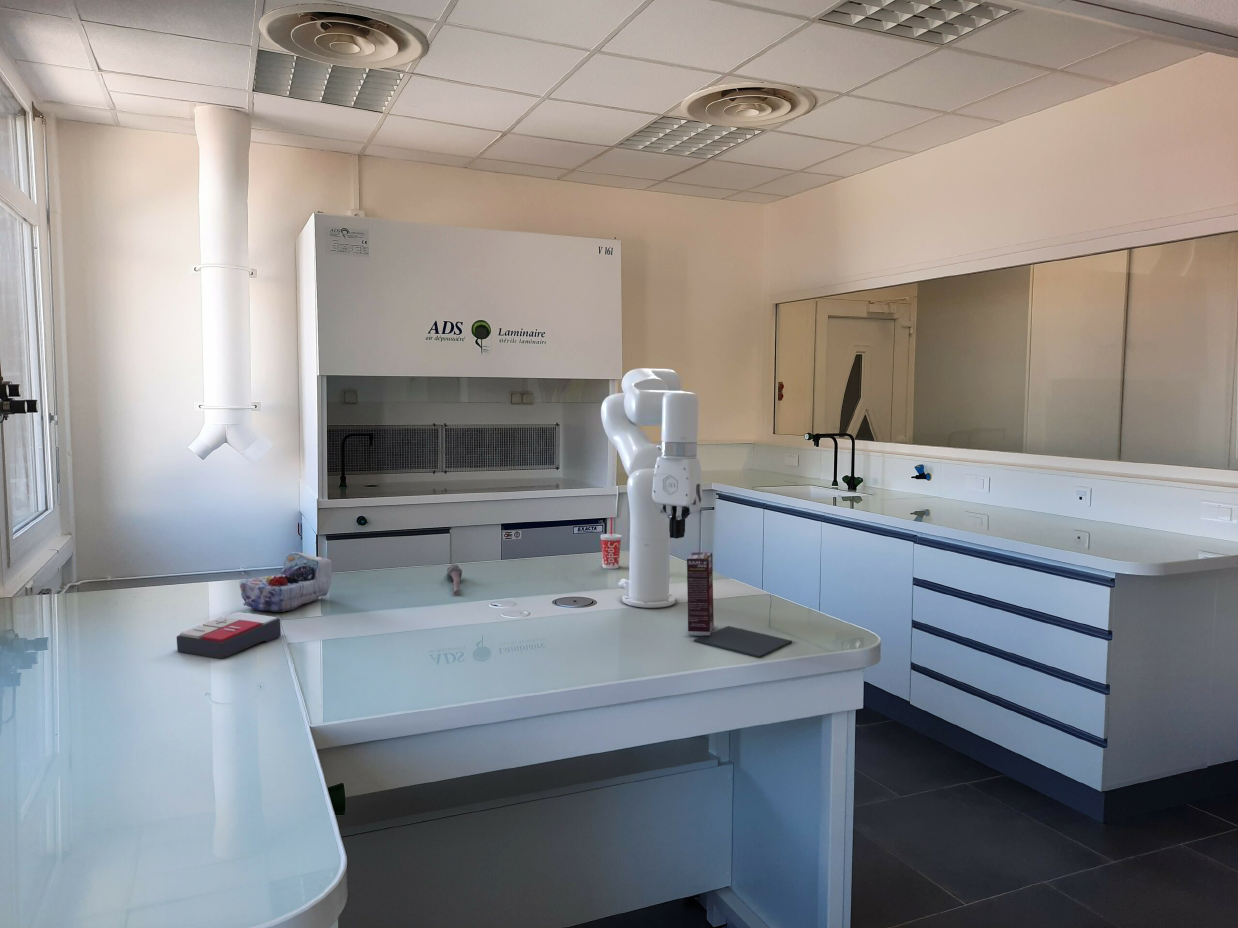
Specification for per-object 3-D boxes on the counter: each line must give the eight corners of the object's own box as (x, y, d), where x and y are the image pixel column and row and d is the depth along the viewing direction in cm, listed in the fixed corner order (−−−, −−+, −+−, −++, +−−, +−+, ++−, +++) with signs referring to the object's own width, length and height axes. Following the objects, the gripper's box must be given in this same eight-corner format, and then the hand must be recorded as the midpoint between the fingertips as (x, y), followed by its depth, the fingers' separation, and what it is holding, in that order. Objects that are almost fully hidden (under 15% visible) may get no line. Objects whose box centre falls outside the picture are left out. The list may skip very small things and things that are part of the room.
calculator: (174, 632, 154) (236, 608, 168) (176, 654, 155) (238, 629, 169) (221, 639, 151) (280, 614, 165) (222, 662, 151) (282, 635, 165)
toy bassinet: (338, 551, 195) (277, 570, 176) (339, 596, 196) (278, 620, 177) (293, 546, 199) (228, 564, 181) (294, 590, 200) (230, 613, 182)
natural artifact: (454, 579, 222) (464, 566, 222) (457, 596, 200) (467, 583, 200) (443, 571, 221) (452, 558, 221) (444, 588, 199) (454, 574, 199)
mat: (693, 641, 167) (693, 639, 167) (728, 627, 177) (728, 625, 177) (759, 657, 158) (759, 655, 158) (792, 642, 168) (792, 640, 168)
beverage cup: (597, 568, 233) (598, 518, 231) (601, 564, 239) (602, 515, 237) (619, 569, 232) (620, 519, 230) (623, 565, 238) (624, 516, 236)
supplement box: (711, 636, 169) (709, 558, 168) (687, 635, 170) (685, 558, 169) (715, 625, 178) (713, 551, 177) (692, 625, 179) (690, 551, 178)
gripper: (639, 449, 177) (638, 535, 178) (698, 453, 167) (696, 544, 169) (660, 448, 183) (659, 531, 184) (718, 452, 173) (716, 539, 175)
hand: (676, 537), depth 176 cm, fingers closed
